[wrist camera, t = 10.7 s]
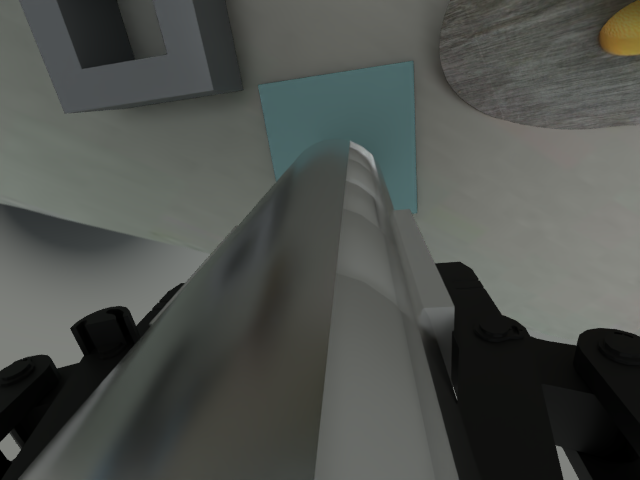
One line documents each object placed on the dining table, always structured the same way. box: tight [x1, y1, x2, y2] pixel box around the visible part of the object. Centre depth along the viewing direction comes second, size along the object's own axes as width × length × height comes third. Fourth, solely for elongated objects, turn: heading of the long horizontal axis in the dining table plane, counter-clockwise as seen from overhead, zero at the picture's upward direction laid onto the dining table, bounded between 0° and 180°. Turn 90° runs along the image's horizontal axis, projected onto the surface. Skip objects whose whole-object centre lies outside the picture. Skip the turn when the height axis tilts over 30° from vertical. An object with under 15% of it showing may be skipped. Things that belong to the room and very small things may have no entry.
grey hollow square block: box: [19, 0, 243, 113], centre depth 29 cm, size 14×14×8 cm
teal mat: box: [258, 61, 417, 214], centre depth 36 cm, size 15×15×1 cm
